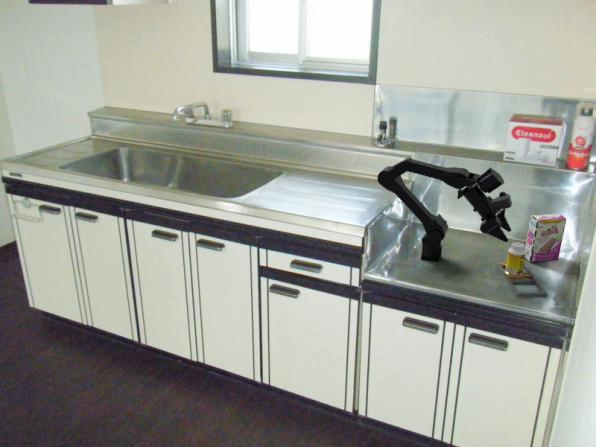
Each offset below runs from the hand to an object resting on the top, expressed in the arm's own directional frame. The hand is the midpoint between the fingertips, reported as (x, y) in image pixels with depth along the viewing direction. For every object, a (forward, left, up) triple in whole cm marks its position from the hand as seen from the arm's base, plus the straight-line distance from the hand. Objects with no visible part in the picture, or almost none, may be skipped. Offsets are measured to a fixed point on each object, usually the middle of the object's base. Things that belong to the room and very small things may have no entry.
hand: (508, 236), depth 193 cm
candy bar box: (+13, +13, -13) cm, 22 cm away
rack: (+5, -6, -13) cm, 15 cm away
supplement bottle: (+3, -1, -13) cm, 13 cm away
